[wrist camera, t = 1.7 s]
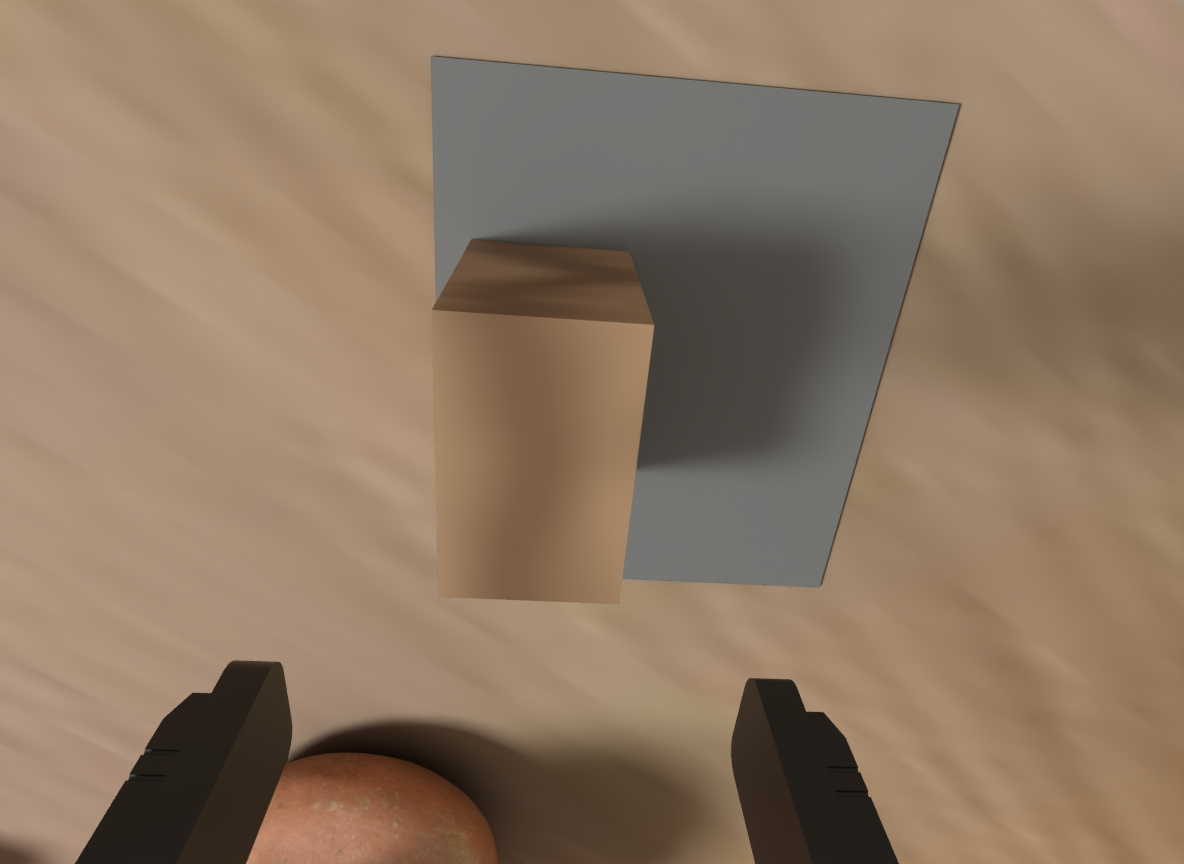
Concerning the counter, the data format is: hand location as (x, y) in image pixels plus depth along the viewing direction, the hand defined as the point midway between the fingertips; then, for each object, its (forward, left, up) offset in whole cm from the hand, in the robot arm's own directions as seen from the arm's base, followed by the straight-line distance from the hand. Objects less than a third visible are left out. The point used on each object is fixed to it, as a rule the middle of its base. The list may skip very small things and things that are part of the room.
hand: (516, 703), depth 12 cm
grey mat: (-5, 0, -16) cm, 17 cm away
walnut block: (0, 0, -16) cm, 16 cm away
